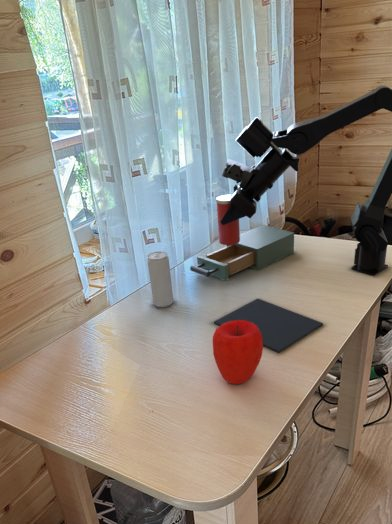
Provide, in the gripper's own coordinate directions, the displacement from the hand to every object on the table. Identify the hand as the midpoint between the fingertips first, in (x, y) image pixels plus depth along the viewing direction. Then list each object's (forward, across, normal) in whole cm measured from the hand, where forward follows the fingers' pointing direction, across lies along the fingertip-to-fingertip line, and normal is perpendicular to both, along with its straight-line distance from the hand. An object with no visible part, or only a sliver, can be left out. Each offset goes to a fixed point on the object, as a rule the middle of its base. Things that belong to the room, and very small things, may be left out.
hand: (222, 219), depth 126 cm
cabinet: (+4, -9, +16) cm, 18 cm away
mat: (+1, +28, +18) cm, 33 cm away
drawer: (+9, +1, +9) cm, 13 cm away
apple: (+4, +48, +15) cm, 50 cm away
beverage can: (+19, +19, +1) cm, 26 cm away
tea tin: (+3, 0, +5) cm, 6 cm away
